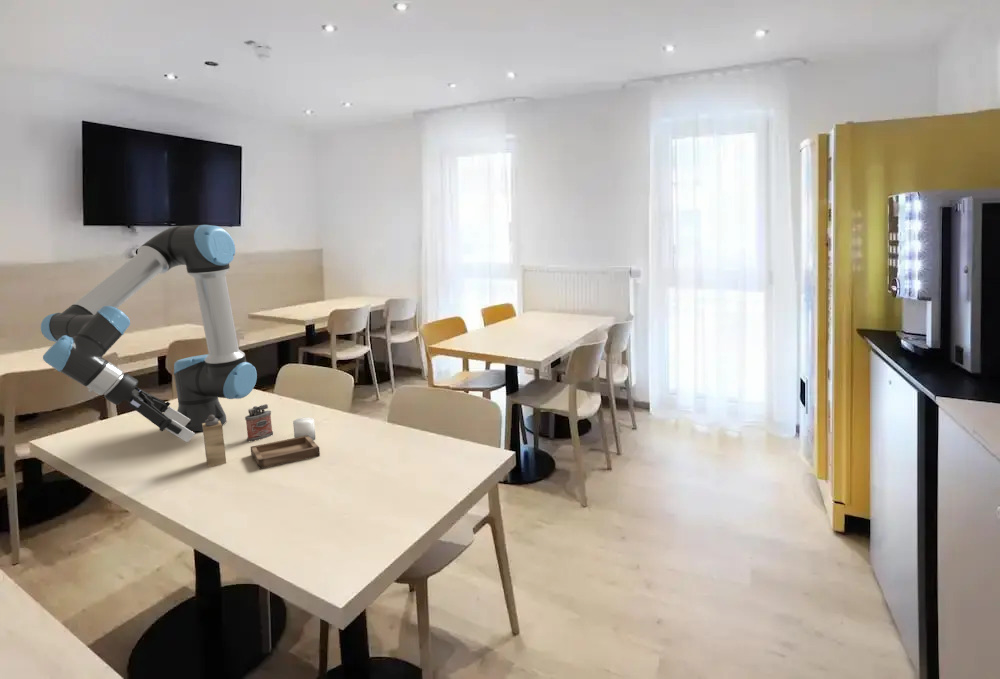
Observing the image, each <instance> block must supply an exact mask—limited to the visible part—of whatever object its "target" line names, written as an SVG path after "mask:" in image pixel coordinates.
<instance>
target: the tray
mask: <svg viewBox="0 0 1000 679" xmlns="http://www.w3.org/2000/svg"><path fill="white" fill-rule="evenodd" d="M320 455H321V453H320V447H319V445H318V444H317V443H316V442H315V440H312V439H311V438H310V437H309V436H308V435H307V436H302V437H297V438H294V437H293V438H288V439H283V440H277V441H273V442H268V443H262V444H257V445H252V446H250V456H251V457H252V459H253V460H254V462H255V464H256V466H257V468H258V469H259V470H261V469H266V468H270V467H276V466H280V465H285V464H289V463H293V462H297V461H298V462H299V461H302V460H307V459H312V458H316V457H320Z"/></svg>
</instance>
